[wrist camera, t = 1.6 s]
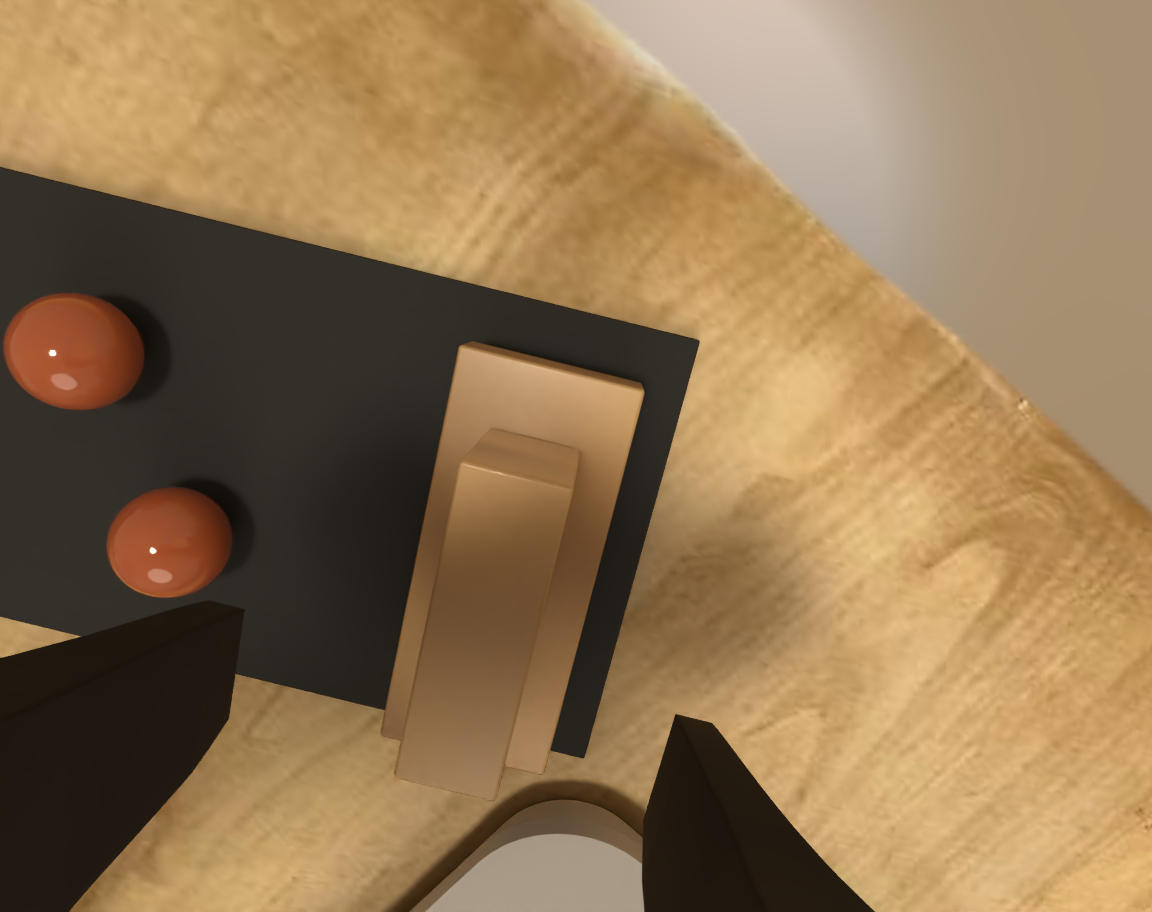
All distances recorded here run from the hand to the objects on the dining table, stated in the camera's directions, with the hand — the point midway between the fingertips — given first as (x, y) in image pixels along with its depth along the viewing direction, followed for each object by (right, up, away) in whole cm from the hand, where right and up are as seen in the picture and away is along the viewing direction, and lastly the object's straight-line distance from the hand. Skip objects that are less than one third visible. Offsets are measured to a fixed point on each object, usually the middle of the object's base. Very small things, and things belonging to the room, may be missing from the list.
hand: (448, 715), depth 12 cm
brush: (0, +2, +9) cm, 9 cm away
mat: (-9, +4, +9) cm, 14 cm away
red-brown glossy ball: (-9, +2, +8) cm, 12 cm away
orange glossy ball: (-11, +7, +7) cm, 14 cm away
